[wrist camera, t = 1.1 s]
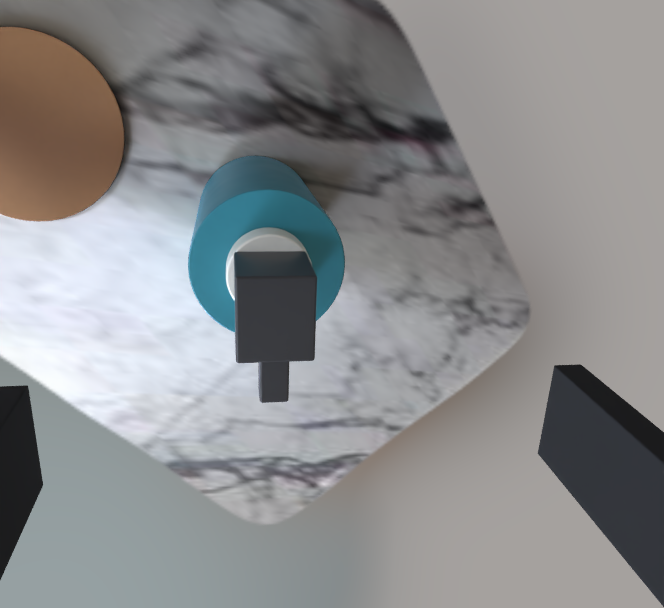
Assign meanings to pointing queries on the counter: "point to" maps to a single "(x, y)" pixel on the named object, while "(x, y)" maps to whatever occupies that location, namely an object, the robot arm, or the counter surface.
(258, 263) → the spray bottle
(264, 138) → the counter surface
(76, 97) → the coaster
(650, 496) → the robot arm
